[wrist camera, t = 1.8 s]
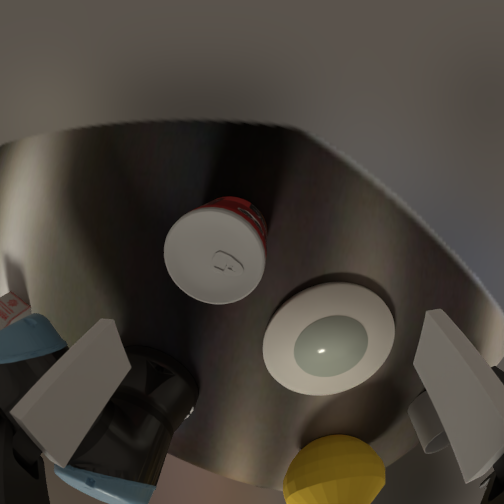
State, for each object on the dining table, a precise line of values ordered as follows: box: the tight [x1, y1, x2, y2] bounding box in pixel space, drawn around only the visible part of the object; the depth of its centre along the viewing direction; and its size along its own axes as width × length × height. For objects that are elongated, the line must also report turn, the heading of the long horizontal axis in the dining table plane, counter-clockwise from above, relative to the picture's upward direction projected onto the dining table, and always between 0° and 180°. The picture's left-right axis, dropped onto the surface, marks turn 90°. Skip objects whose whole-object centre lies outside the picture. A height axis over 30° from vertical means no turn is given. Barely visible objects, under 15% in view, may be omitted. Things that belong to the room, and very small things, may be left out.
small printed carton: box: [0, 291, 31, 330], centre depth 33 cm, size 4×7×10 cm, turn 68°
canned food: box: [164, 196, 267, 304], centre depth 26 cm, size 8×8×11 cm
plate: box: [263, 282, 395, 395], centre depth 34 cm, size 18×18×1 cm
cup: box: [407, 391, 451, 454], centre depth 33 cm, size 8×8×10 cm
